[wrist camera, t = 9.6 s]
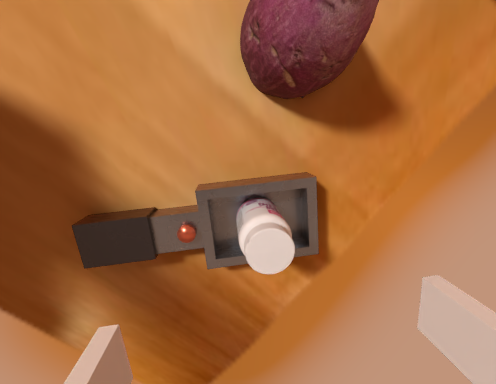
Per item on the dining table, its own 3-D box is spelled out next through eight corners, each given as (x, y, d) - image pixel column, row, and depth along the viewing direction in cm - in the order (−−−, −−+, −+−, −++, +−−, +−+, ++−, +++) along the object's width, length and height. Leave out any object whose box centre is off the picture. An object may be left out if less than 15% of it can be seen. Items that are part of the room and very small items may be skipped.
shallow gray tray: (103, 269, 28) (88, 286, 24) (84, 197, 26) (64, 206, 22) (309, 241, 29) (319, 254, 26) (306, 172, 27) (316, 177, 24)
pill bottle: (280, 197, 27) (304, 224, 19) (276, 237, 28) (297, 279, 20) (237, 195, 26) (242, 223, 18) (234, 236, 27) (238, 279, 19)
